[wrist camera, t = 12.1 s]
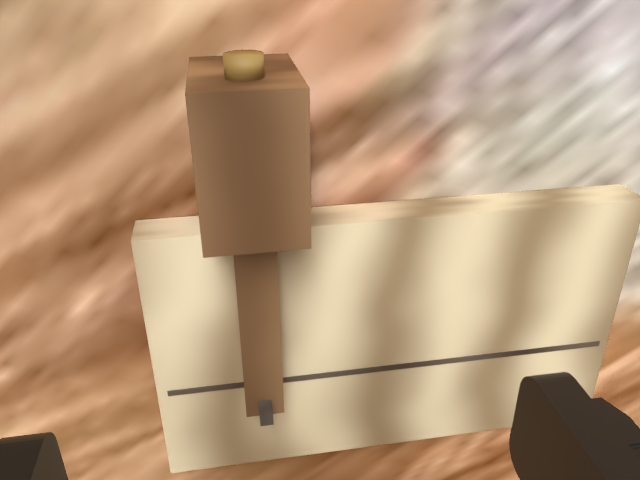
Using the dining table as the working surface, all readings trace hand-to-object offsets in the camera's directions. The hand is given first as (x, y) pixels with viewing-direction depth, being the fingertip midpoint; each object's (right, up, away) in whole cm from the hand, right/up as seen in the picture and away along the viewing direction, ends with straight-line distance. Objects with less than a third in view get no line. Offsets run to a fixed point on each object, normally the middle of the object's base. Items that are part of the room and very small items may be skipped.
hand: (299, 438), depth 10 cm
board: (+4, -1, +22) cm, 22 cm away
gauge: (-3, +4, +18) cm, 18 cm away
